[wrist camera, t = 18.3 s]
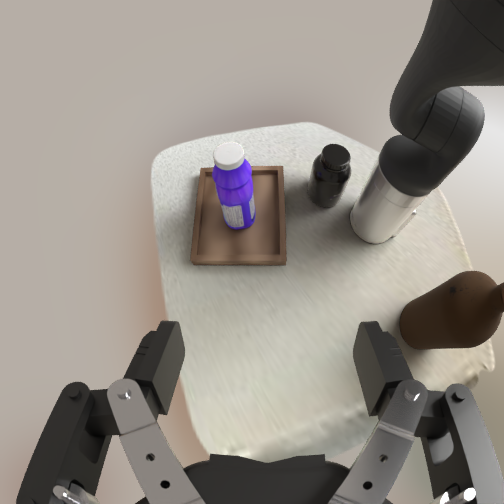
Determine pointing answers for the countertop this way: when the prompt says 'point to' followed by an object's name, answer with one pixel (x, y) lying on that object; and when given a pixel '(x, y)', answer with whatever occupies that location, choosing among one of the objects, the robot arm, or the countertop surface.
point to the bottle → (234, 185)
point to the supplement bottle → (329, 175)
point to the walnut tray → (242, 240)
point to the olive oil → (454, 313)
